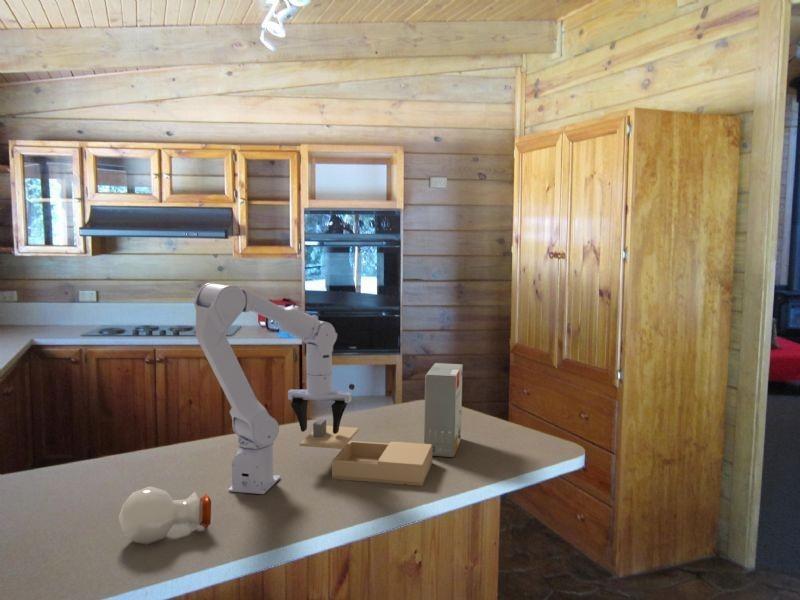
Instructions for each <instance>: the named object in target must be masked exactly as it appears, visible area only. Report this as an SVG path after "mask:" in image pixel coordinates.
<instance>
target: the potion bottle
mask: <svg viewBox="0 0 800 600" xmlns="http://www.w3.org/2000/svg"><path fill="white" fill-rule="evenodd" d="M211 514H212V500H211V498H210V496H209V495H208V493H205V494H204V496H202V497H200V496H199V495H198V493H197V492H196V491H193V493H192V494H190V495H189V497H187V498H185V499H173V498H172V497H171V495H170V494H169V493H168V491H166V490H164V489H162V488H158V487H154V486H151V485H150V486H147V487H144V488H141V489H138V490H135V491H133V492H132V493H131V494H130V496H128V497H127V499H126V500H125V501H124V503H123V504H122V506H121V510H120V512H119V515H118V521H119V524H120V527H121V528H120V529H121V531H122V534H124V535H125V536H126V537H127V538H128V539H130V540H131V541H132V542H134V543H135V544H136V543H138V544H142V545H150V544H152V543H153V544H154V543H155V542H158V541H160V540H163V539H165V538H166V537H167V535H168V533H169V532H170V530H171V529H172V527H174V526H187V527H188V528H189V529H190V530H192V531H193V532H195V531H196V529H197V528H198V527H199V526H201V527H202V528H204V529H205V530H206V529H207V528H208V527H209V526H210V525H211V520H212V515H211Z"/></svg>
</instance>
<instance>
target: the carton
mask: <svg viewBox="0 0 800 600" xmlns="http://www.w3.org/2000/svg"><path fill="white" fill-rule="evenodd" d="M432 464H433V456H432V444H424V443H421V442H420V443H419V442H417V443H416V442H404V441H390V442H388V443H387V442H373V441H372V442H371V441H361V440H360V441H355V440H350V441H349V442H348V443H347V445H346V446H345V447H344V448H343V449H340V451H339V452H338V453H337V454H336V456H335V457H334V458H333V459H332V461H331V478H334V479H333V480H342V479H343V480H345V481H354V482H355V481H357V482H367V481H368V482H370V483H380V484H381V483H382V484H394V485H404V484H407V485H406V486H418V487H423V486H424V483H425V481H426V479H427V476H428V474H429V471H430V469H431V467H432ZM368 482H367V483H368Z"/></svg>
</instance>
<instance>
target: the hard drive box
mask: <svg viewBox="0 0 800 600" xmlns="http://www.w3.org/2000/svg"><path fill="white" fill-rule="evenodd" d="M463 368H464V365H463V363H462V364H460V363H441V362H435V363H434V364H433V365H432V366H431V367H430V368H429V370H428V372H426V373H425V376H424V414H423V415H424V416H423V418H424V419H423V420H424V421H423V444H432V457H445V458H455V455H456V453H457V449H458V448H459V445H460V443H461V439H462V415H463V413H462V411H463V410H462V409H463V407H462V404H463V403H462V401H463Z"/></svg>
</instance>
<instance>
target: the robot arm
mask: <svg viewBox="0 0 800 600" xmlns="http://www.w3.org/2000/svg"><path fill="white" fill-rule="evenodd" d="M193 305H194V308H195V337H196V340H197V342H198V344H199V346H200V348H201V350H202V351H203V353H204V355H205V357H206V359H207V361H208V363H209V366H210V368H211V369H212V371H213V373H214V376H215V377H216V379H217V381H218V383H219V386H221V389H222V391H223V393H224V395H225V396H226V399H227V401H228V403H229V405H230V407H231V409H230V410H229V414H230V417H231V421H232V423H231V424H232V425H231V426H232V430H233V432H234V434H235V435H237V444H238V445H237V446H238V447H237V448H238V449H237V452H236V454H235V455H234V457H233V459H232V460H231V461H232V462H231V479H232V481H231V483H232V485H231V486H230V487H229V488H228V492H234V493H245V494H246V493H247V494H257V495H258V494H259V495H265V494H266V492H268V490H270V489H271V488H272V487H273V486H274V485H275V484H276V483H277V482H278V481H279V480H280V479H281V475H277V474H276V475H275V474H274V442H275V441H276V440H277V438H278V435H279V433H280V431H279V430H280V428H279V427H280V426H279V423H278V421H277V420H276V419H275V418H274V417H272V416H271V415H270V414H269V412H268V410H267V409H266V407H265V406H264V405H263V404H262V403H261V402H260V401H259V400H258V399H257V396H256V395H255V393H254V391H253V389H252V387H251V385H250V383H249V380H248V378H247V377H246V374H245V373H244V371H243V368H242V366H241V364H240V363H239V359H238V358H237V356H236V354H235V352H234V350H233V348H232V346H231V344H230V341H229V340H228V338H227V333H228V331H229V329H230V327H231V326H232V325H233V323H235V321H236V320H237V319H238V317H239V316H240V315H241V314H242V313H249V312H252V313H255V314H256V315H259V316H262V317H265V318H266V319H269V320H272V321H274V322H276V323H277V326H278V329H279V330H280V331H282V332H284V333H286V334H288V335H291V336H293V337H296V338H297V339H299V340H301V341H302V342H303V343H304V344H305V345H306V346H305V347H306V349H305V350H306V351H305V352H306V357H305V358H306V359H305V361H306V389H289V390H287V400H291V402H290V405H291V406H290V407H291V408H292V410H293V411H294V413H295V415H296V418H297V420H298V424H299V426H300V432H303V433H304V432H305V431H307V429H308V415H307V414H308V404H309V403H308V401H319V402H321V401H324V402H333V403H332V404H331V411H332V412H331V413H332V426H333V434H337V433H338V431H339V427H340V424H341V420H342V417H343V414H344V412H345V409H346V408H347V405H348V404H349V403H351V402H352V392H347V391H339V390H333V359H332V358H333V352H334V345H335V343H336V341H337V339H338V333H337V332H336V329H335V327H334V326H333V324H332V323H330V322H328V321H324V320H319V315H316V314H312V315H311V314H309V313H307V312H305V311H303V307H301V306H299V305H294V306H292V305H291V306H286V307H284V308H283V307H281V306H280V305H278V304H276V303H274V302H272V301H270V300H269V299H267V298H265V297H263V296H261V295H260V294H258V293H256V292H253V291H251V290H249V289H245V288H240V287H239V286H237V285H234V284H233V285H232V284H231V285H226V284H220V283H217V282H207V283H205V284H203V286H201V287H200V288H199V291H198V292H197V294H196V296H195V299H194V301H193Z"/></svg>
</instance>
